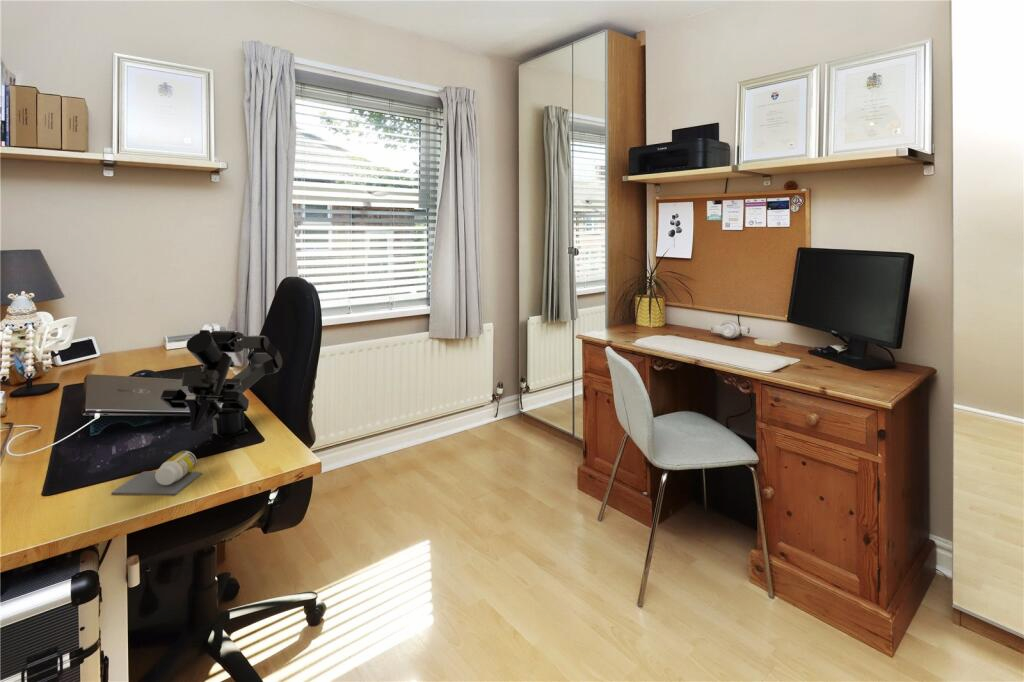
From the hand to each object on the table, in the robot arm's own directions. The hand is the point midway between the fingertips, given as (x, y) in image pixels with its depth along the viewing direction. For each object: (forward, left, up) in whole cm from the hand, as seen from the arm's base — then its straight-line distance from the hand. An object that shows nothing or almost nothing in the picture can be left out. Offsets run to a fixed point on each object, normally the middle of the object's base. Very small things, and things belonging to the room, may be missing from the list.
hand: (193, 431), depth 129 cm
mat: (+11, +9, -6) cm, 15 cm away
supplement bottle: (+4, +7, -4) cm, 9 cm away
